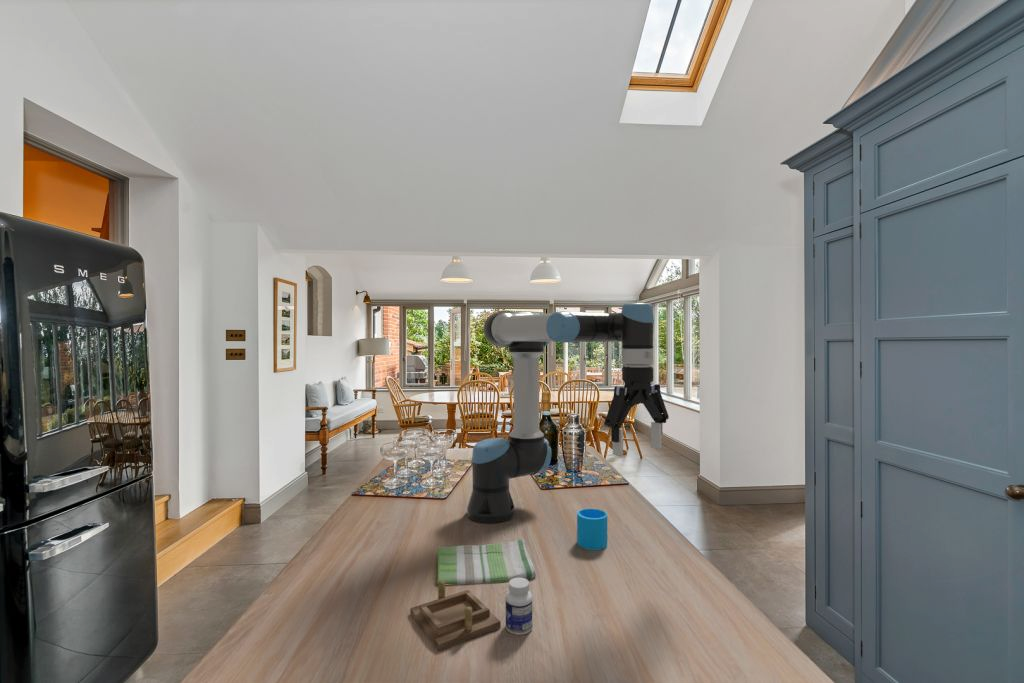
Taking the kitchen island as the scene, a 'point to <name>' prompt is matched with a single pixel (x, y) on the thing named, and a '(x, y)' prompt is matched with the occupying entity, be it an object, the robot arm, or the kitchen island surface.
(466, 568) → the dish towel
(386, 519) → the kitchen island surface
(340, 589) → the kitchen island surface
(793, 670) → the kitchen island surface
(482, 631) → the cradle
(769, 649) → the kitchen island surface
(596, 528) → the mug
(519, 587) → the pill bottle
